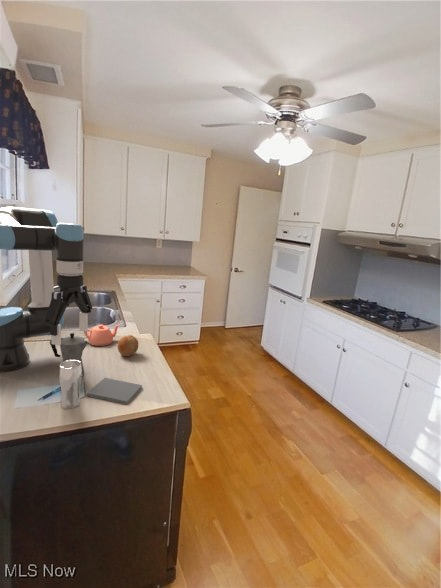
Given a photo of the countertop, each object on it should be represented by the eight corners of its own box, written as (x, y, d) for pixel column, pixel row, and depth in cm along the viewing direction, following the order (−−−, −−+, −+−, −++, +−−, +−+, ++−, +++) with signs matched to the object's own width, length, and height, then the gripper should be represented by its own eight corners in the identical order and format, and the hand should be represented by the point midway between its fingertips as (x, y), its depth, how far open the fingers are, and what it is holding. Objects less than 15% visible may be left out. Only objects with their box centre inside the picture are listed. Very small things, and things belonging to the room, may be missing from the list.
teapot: (82, 339, 159) (82, 322, 157) (117, 336, 169) (117, 320, 167) (85, 348, 149) (85, 330, 147) (122, 344, 159) (123, 327, 157)
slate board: (86, 395, 111) (86, 392, 111) (104, 380, 123) (104, 377, 122) (127, 404, 108) (127, 401, 108) (141, 387, 120) (141, 385, 120)
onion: (125, 349, 153) (125, 330, 151) (142, 353, 150) (143, 334, 148) (112, 356, 144) (113, 336, 142) (130, 361, 141) (131, 340, 139)
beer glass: (57, 401, 106) (56, 361, 103) (78, 396, 110) (78, 357, 107) (62, 412, 101) (61, 370, 98) (84, 405, 105) (84, 365, 102)
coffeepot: (93, 371, 129) (93, 331, 125) (83, 382, 120) (83, 339, 116) (57, 367, 129) (56, 327, 125) (44, 378, 119) (42, 335, 116)
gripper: (52, 281, 83) (53, 353, 88) (103, 270, 107) (102, 327, 112) (28, 277, 84) (31, 349, 89) (83, 267, 108) (83, 324, 113)
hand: (70, 337), depth 100 cm, fingers open, 13 cm apart
